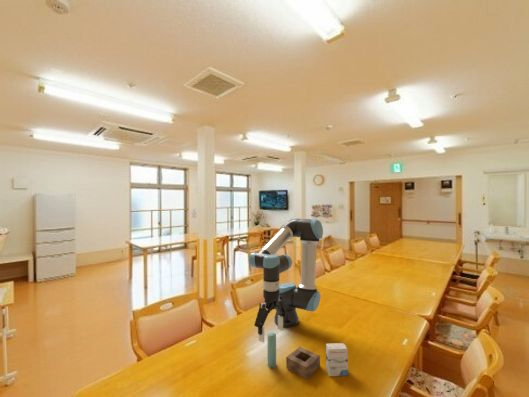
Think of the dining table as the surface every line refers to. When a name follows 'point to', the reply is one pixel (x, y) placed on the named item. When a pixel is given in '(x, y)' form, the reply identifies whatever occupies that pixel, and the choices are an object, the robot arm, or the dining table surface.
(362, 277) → the dining table surface
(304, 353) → the socket block
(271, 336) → the peg
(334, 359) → the ink box
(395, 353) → the dining table surface
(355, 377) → the dining table surface
